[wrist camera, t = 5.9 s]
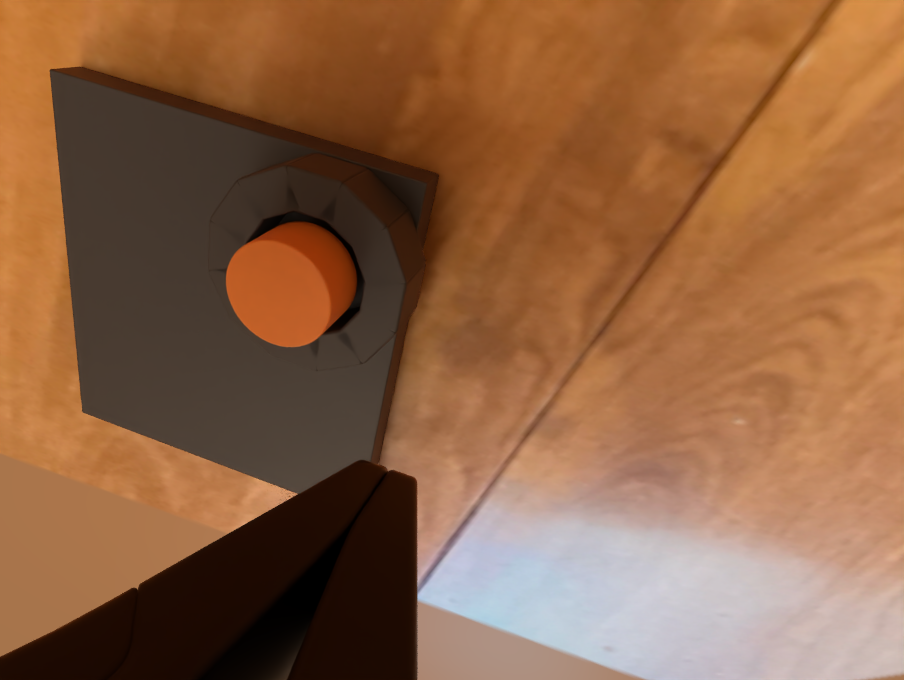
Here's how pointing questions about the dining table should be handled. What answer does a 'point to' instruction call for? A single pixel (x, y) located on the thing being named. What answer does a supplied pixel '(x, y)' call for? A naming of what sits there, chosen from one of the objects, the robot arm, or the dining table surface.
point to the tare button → (291, 283)
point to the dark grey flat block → (204, 277)
